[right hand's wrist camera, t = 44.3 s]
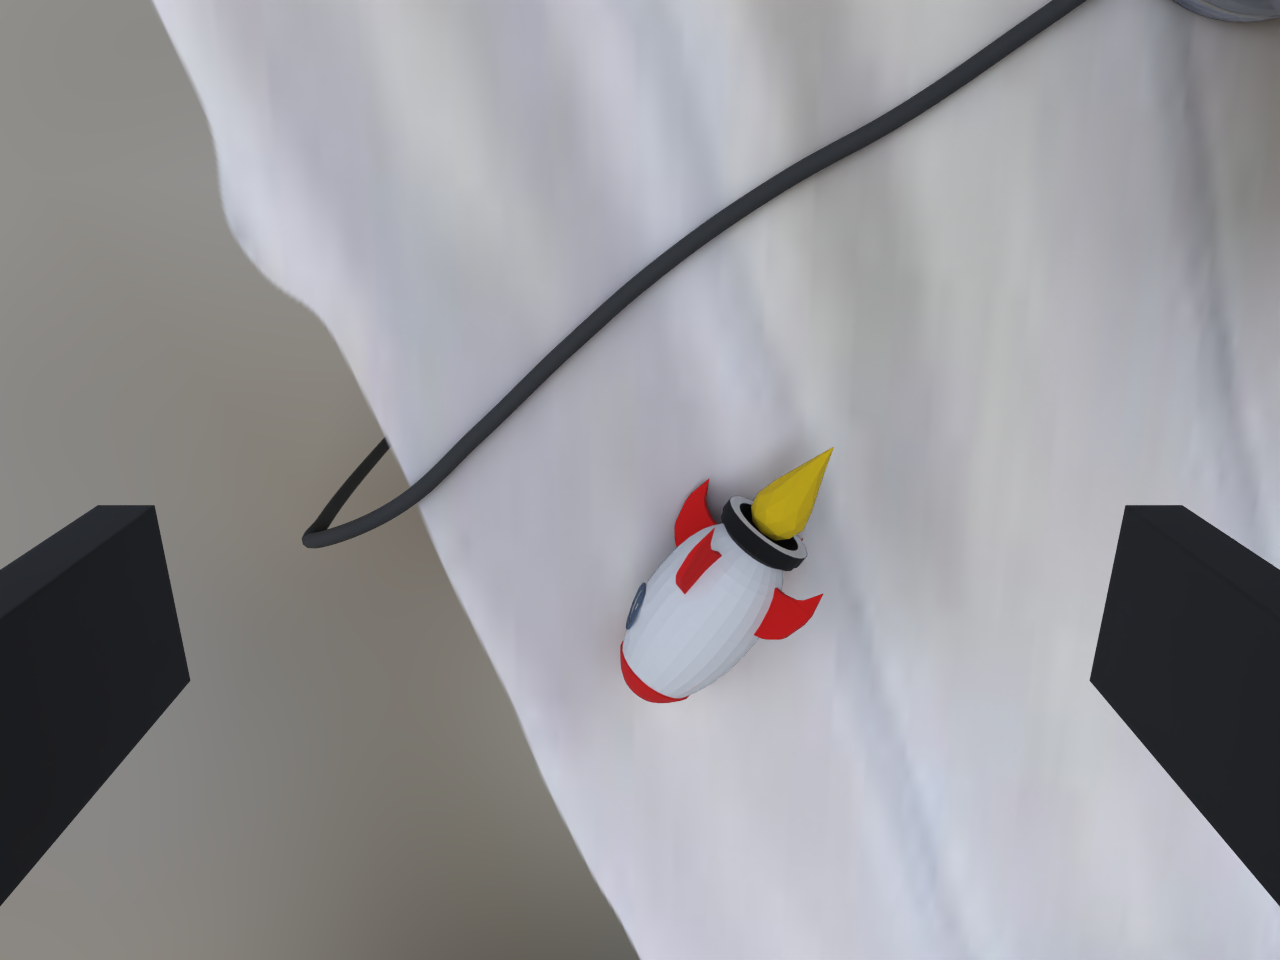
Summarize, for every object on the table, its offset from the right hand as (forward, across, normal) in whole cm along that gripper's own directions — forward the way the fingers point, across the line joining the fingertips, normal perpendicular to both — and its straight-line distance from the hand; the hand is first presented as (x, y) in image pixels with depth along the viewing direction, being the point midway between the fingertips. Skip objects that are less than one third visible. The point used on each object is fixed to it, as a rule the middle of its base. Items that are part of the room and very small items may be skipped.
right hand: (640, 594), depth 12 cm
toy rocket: (+41, +5, -18) cm, 45 cm away
